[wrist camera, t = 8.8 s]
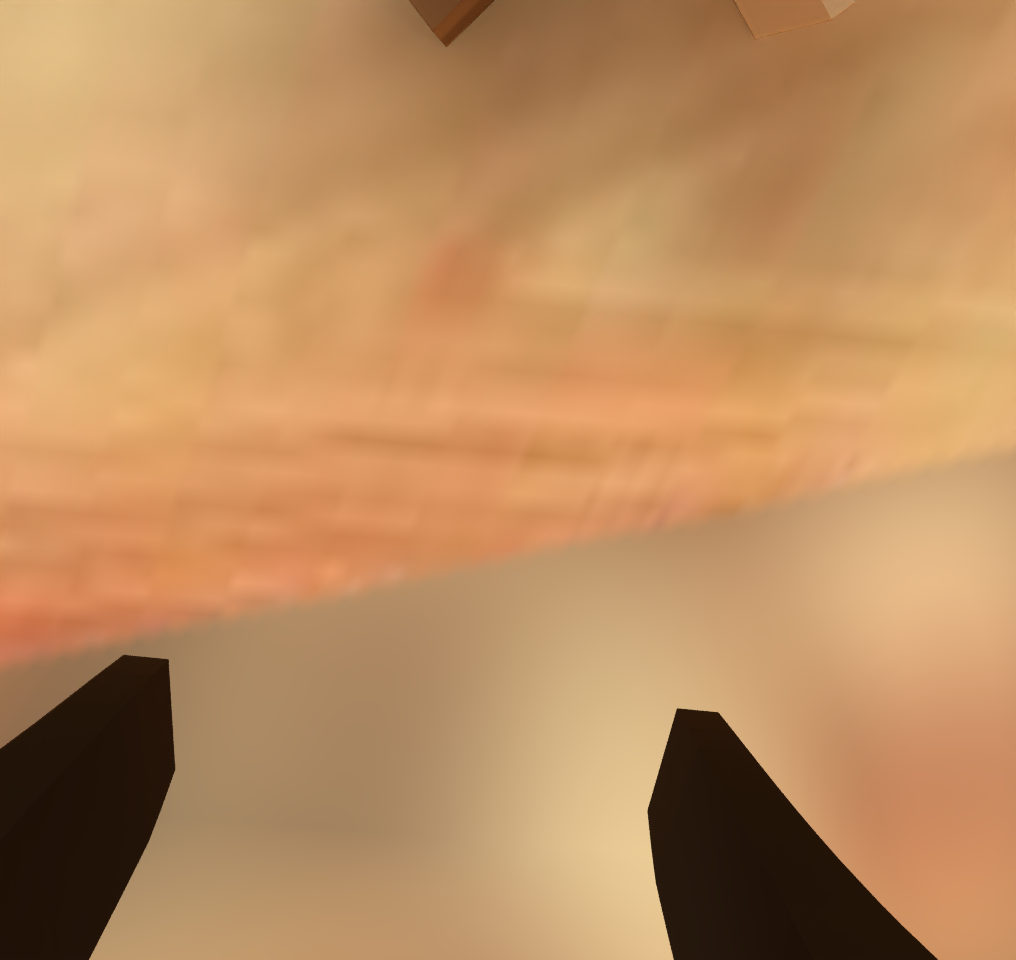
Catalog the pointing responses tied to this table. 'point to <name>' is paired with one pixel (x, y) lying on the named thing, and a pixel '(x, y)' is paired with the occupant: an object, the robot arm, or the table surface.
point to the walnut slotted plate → (449, 15)
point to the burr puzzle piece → (787, 14)
